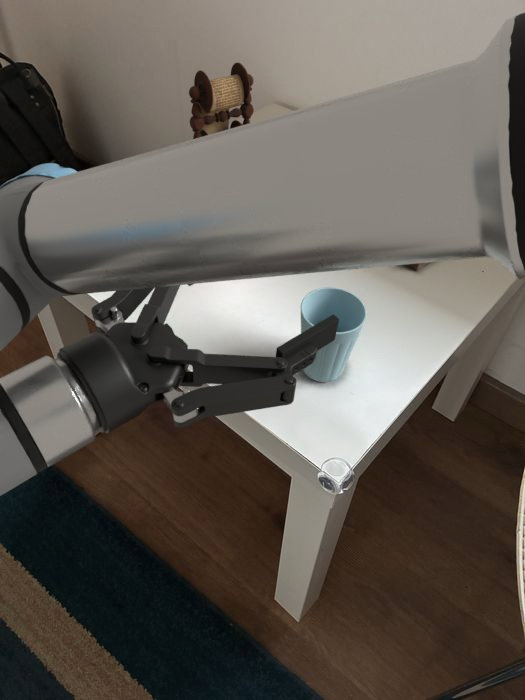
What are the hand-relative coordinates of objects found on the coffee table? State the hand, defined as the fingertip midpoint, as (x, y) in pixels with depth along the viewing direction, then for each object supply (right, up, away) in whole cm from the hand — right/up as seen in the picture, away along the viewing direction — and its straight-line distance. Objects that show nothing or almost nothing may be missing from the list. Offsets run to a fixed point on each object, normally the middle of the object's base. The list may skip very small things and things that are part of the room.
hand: (284, 285), depth 51 cm
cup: (+6, -8, +19) cm, 22 cm away
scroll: (-9, +24, +46) cm, 53 cm away
